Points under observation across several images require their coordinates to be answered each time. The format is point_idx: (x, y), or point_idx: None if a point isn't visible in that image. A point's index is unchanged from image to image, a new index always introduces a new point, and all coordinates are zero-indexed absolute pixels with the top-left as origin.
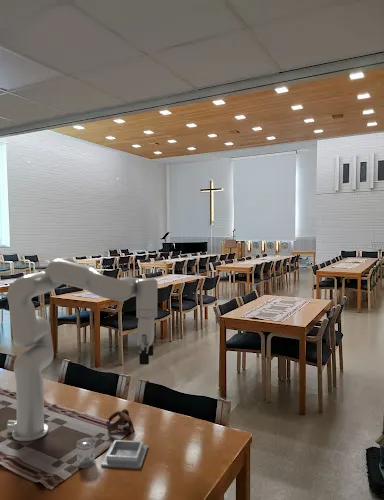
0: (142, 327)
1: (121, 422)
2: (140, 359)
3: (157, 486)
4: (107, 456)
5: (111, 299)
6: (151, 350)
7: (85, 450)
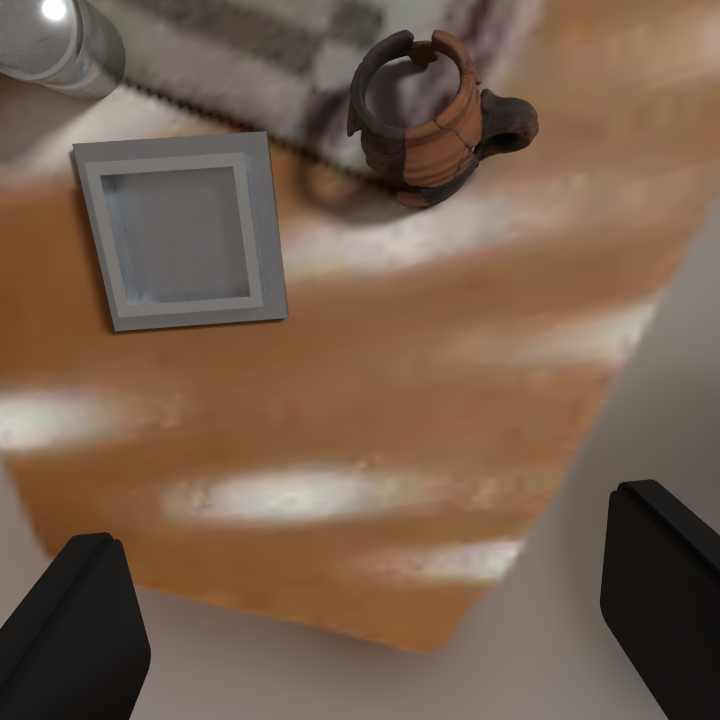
0: None
1: (375, 146)
2: (32, 616)
3: (35, 416)
4: (85, 168)
5: None
6: (664, 687)
7: None
